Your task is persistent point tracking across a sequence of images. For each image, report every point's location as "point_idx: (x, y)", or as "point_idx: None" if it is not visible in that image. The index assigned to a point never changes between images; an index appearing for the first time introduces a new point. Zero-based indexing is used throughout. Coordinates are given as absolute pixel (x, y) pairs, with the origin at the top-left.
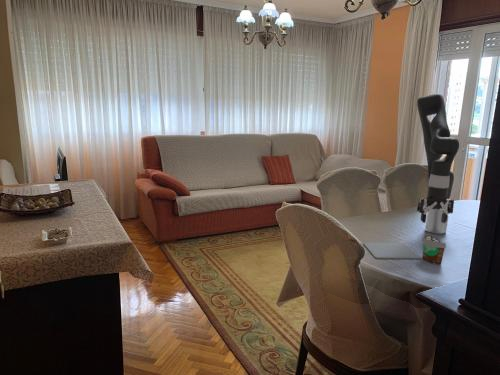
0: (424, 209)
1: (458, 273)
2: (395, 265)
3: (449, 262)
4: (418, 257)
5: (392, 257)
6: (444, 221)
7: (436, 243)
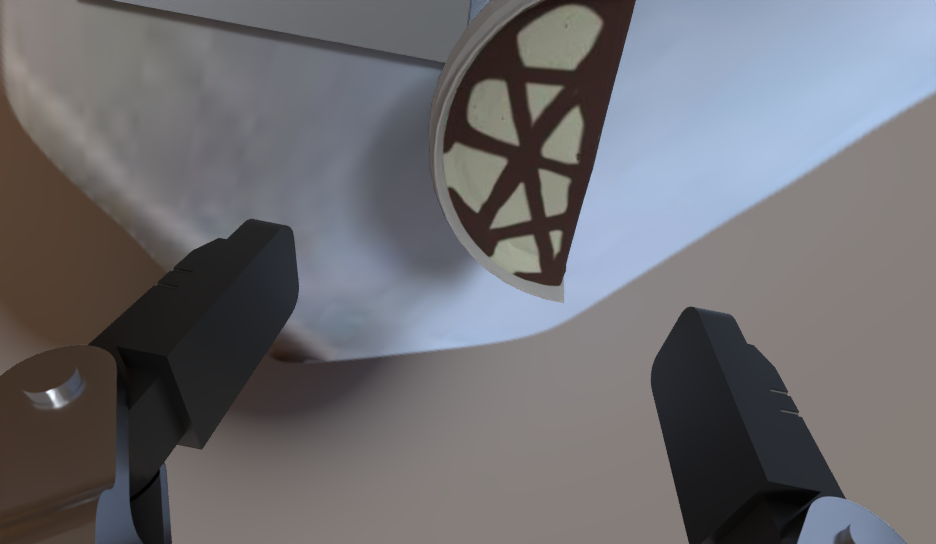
0: (46, 496)
1: (566, 297)
2: (219, 136)
3: (658, 160)
4: (443, 54)
5: (213, 17)
6: (668, 401)
7: (486, 261)
